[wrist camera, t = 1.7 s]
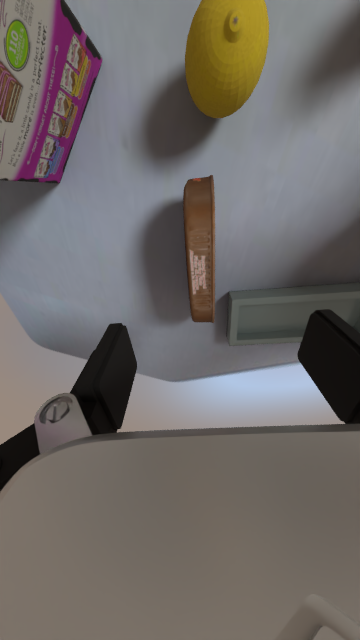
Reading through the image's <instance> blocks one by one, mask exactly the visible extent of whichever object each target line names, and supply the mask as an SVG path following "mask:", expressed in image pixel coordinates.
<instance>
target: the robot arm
mask: <svg viewBox="0 0 360 640" xmlns="http://www.w3.org/2000/svg"><path fill="white" fill-rule="evenodd" d="M298 359H299V361H300V362H301V364H302V365H303V367H304V368H305V370H306V371H307V373H308V374H309V376H310V377H311V378H312V380H313V381H314V383H315V384H316V386H317V387H318V389H319V390H320V392H321V393H322V395H323V396H324V398H325V399H326V400H327V402H328V403H329V405H330V406H331V408H332V409H333V411H334V412H335V414H336V415H337V416H338V418H339V419H340V420H341V421H344V422H345V424H332V425H295V426H264V427H234V428H206V429H181V430H154V431H136V432H119V433H117V429H120V428H121V426H122V423H123V419H124V415H125V411H126V408H127V404H128V400H129V396H130V392H131V388H132V385H133V381H134V377H135V373H136V370H137V362H136V358H135V355H134V351H133V348H132V344H131V341H130V338H129V334H128V331H127V328H126V326H123V325H122V323H115V324H110V325H109V326H108V328H107V330H106V332H105V333H104V335H103V337H102V339H101V341H100V342H99V344H98V346H97V348H96V350H94V351H93V353H92V354H91V356H90V358H89V360H88V361H87V363H86V365H85V367H84V369H83V371H82V372H81V374H80V376H79V377H78V379H77V381H76V383H75V385H74V386H73V388H72V390H71V392H70V393H63V394H58V395H56V396H54V397H52V398H51V399H49V400H47V401H46V402H45V403H44V404H43V405H42V406H41V407H40V408H39V410H38V411H37V413H36V415H35V420H34V424H32V425H31V426H29V427H28V428H26V429H24V430H23V431H21V432H20V433H18V434H17V435H15V436H14V437H12V438H10V439H9V440H7V441H6V442H4V443H3V444H1V445H0V640H360V333H359V332H358V331H357V330H355V329H354V328H353V327H352V326H351V325H349V324H348V323H347V322H346V321H344V320H343V319H342V318H341V317H339V316H338V315H337V314H336V313H334V312H333V311H332V310H330V309H323V310H315V311H314V312H313V313H312V314H311V315H310V317H309V320H308V323H307V326H306V329H305V332H304V336H303V339H302V342H301V345H300V348H299V351H298Z"/></svg>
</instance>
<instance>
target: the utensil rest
mask: <svg viewBox="0 0 360 640" xmlns="http://www.w3.org/2000/svg"><path fill="white" fill-rule="evenodd" d="M323 309H330V310H332V311H333V312H334V313H336V314H337V315H338V316H339V317H341V318H342V319H343V320H344V321H346V322H347V323H348V324H349V325H351V326H352V327H353V328H354V329H355V330H357V331H358V332H359V333H360V282H359V283H345V284H331V285H317V286H303V287H289V288H274V289H260V290H246V291H232V292H229V299H228V318H227V339H228V343H229V346H236V345H255V344H275V343H294V342H302V339H303V336H304V332H305V329H306V326H307V323H308V320H309V317H310V315H311V314H312V313H313V312H314V311H315V310H323Z"/></svg>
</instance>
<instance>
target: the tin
mask: <svg viewBox="0 0 360 640" xmlns="http://www.w3.org/2000/svg"><path fill="white" fill-rule="evenodd" d="M183 210H184V232H185V248H186V261H187V276H188V287H189V298H190V309H191V316H192V320H193V321H194V322H212V323H214V318H215V202H214V180H213V175H210V176H209V177H204V178H195V179H190V180H188V181H187V183H186V185H185V187H184V196H183Z"/></svg>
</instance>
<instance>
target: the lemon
mask: <svg viewBox="0 0 360 640" xmlns="http://www.w3.org/2000/svg"><path fill="white" fill-rule="evenodd" d="M268 38H269V21H268V14H267V8H266V4H265V1H264V0H202V1H201V3H200V5H199V7H198V9H197V11H196V13H195V15H194V17H193V20H192V24H191V27H190V31H189V34H188V38H187V45H186V54H185V71H186V80H187V84H188V89H189V92H190V95H191V97H192V99H193V101H194V103H195V104H196V106H197V107H198V108H199V110H200V111H201V112H203V113H204V114H205V115H207V116H210V117H213V118H223V117H226V116H229V115H231V114H233V113H234V112H236V111H237V110H238V109H240V108H241V107H242V106H243V104H244V103H245V102H246V101H247V100H248V98H249V97H250V96H251V94H252V92H253V90H254V88H255V87H256V85H257V83H258V81H259V78H260V75H261V72H262V69H263V66H264V63H265V58H266V53H267V47H268Z"/></svg>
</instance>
